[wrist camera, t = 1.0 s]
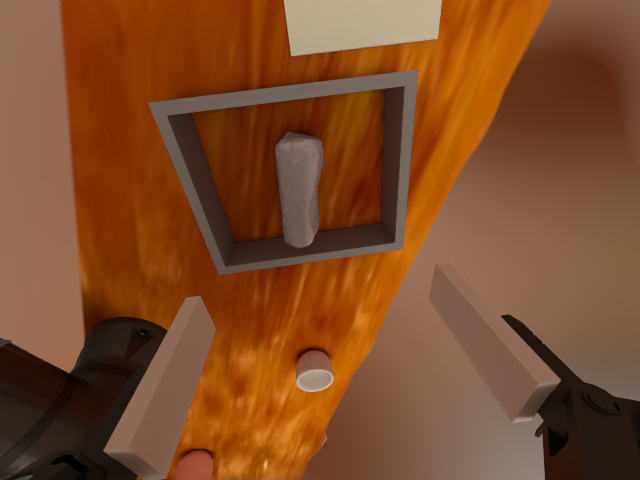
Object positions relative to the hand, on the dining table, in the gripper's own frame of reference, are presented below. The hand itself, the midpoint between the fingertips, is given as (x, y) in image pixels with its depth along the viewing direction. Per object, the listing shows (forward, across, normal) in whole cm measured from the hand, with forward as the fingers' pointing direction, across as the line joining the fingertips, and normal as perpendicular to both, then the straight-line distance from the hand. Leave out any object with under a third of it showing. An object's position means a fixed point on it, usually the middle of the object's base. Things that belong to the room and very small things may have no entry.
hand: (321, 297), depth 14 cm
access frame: (+23, -1, +1) cm, 23 cm away
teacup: (+23, -4, -40) cm, 46 cm away
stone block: (+23, -1, +1) cm, 23 cm away
